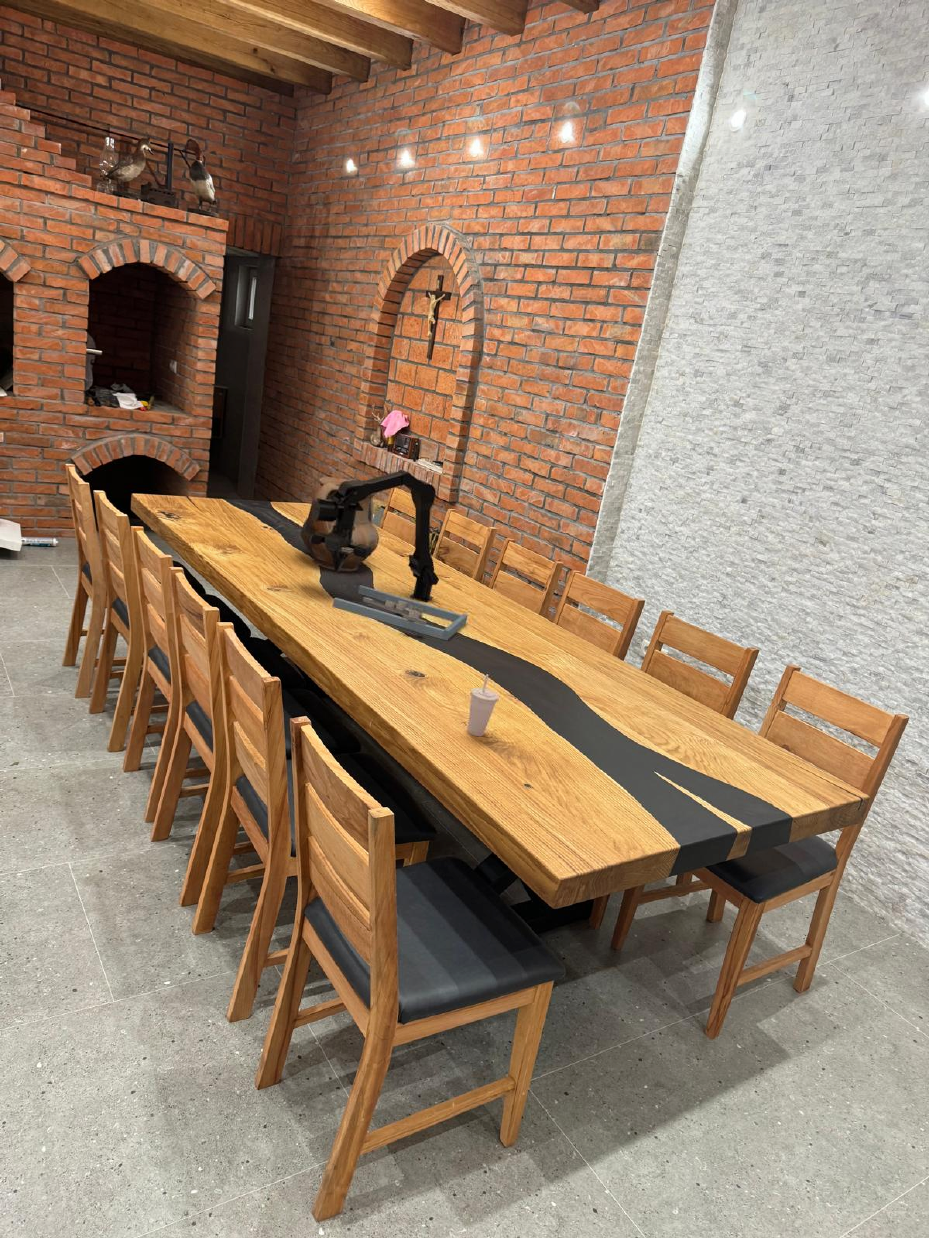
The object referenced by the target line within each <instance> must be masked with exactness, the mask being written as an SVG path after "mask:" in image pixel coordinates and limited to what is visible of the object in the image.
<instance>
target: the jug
mask: <svg viewBox="0 0 929 1238" xmlns="http://www.w3.org/2000/svg"><path fill="white" fill-rule="evenodd" d="M344 481H351V480H349V479H344V478H335V477H331V476H330V477H326V476H325V477H321V478H318V480H317V482H318V483H319V484H320V487H319V489H318V490H317V492H316V493H315V495H314V497H313V500H312V502H311V505H310V508H309V513H308V517H307V518H306V520H304V523H303V525H302V527H301V530H300V537H301V539H302V541H303V544H304V545H305V547H306V549H307V550H308V552H309V553H310V554H311V556H312V557H313V559H312V562H313V563H314V564H316V565H317V566H319V567H322V568H324V569H328V570H332V571H335V568H334V563H333V558H332V555H331V553H330V552H329V551H328V550H327V549H326V548H325V543H321V544H319V545H316V544H313V543H310V539H311V536H312V535H313V534H315V533H319V532H321V533H324V534H329V533H330V532H331V531H332V529H333V525H335V523H336V520H334V521H333V522H326V521H315V520H313V517H312V507H313V506H314V503H315V502H317V498H322V499H327V500H330V497H331V496H332V495H333V494H334V493H335V492H336V491H337V490H338V489H339V486H340V484H341V483H342V482H344ZM377 494H378V492H377V493H373V494H371V495H369V496H368V497H367V498H366V499H364V500H362V501H360V502H359V503H360V505H361V507H362V508H363V509H364V510H363V511H356V517H355V523H354V527H355V530H353V534H352V539H353V542H352V543H351V544H352V545H355V546H356V545H359V544H364V545H367V546H371V548H372V553H374V552H375V550H377V548H378V545H379V543H380V535H379V532H378V530H377V528H376V527H375V526H374V499H373V497H374V496H376V495H377ZM341 500H343V498H341ZM367 558H368V557H366V558H362V557H359V556H355V555H354V553H353V554H350V555H349V556H348V557H347V559H346V560H345V561H344V563H343V565H342V566H341V568H340V570H339V571H338V572H355V571H357V570H358V569H359V566H360V565H361V564H362V563H363V562H364V561H365V560H366V559H367Z"/></svg>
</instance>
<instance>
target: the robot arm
mask: <svg viewBox="0 0 929 1238" xmlns="http://www.w3.org/2000/svg"><path fill="white" fill-rule="evenodd" d="M401 486H404V487H406V488H408V490H410V496H411V500H412V503H413V506H414V508H415V520H414V521H415V528H414V529H415V533H414V538H415V540H414V541H415V543H414V545H415V547H414V552H413V554H409V555H408V560H409V561H408V567H409V568H410V571H411V572H412V576H413V577H415V584H414V590H413V593H412V594H410V595H409V598H411V599H416V600H419V601H422V602H426V603H428V602H430V601H431V600H432V599H434V596H431V593H432V590H433V589H432V588H433V586H436V585H438V583H439V582H440V579H439V577H438V576H437V574H436V573H435V567H434V560H433V557H432V555H431V551H430V546H431V545H430V539H431V537H430V536H431V535H430V534H431V509H432V507H433V505H434V503H435V499H436V494H437V493H436V492H437V491H436V488H435V486H434V485H432V484H431V483H429V482H427V481H424V480H422V479H419V478H416V477H415V476H414V475H412V474H411V473H410V472H409V471H407V470H404V469H399V470H397V471H395V472H391V473H387V474H383V475H381V476H377V477H373V478H369V479H366V480H355V479H354V480H350V481H344V482H342V483H341V484H340V486H339V489H338V490H337V491H336V492H335V493H334V494H333V495H332V496H331V497H330V500H327V499H322V498H317V502H315V503H314V506H313V507H312V517H313V520H315V521H326V522H333V521H334V520H336V523H335V525H333V529H332V531H331V532H330V533H329V534H324V533H321V532H319V533H315V534H313V535H312V536H311V539H310V543H313V544H316V545H319V544H321V543H325V548H326V549H327V550H328V551H329V552H330V553H331V555H332V558H333V563H334V568H335V570H334V571H335V572H340V571H339V570H340V568H341V566H342V565H343V563H344V561H345V560H346V559H347V557H348V556H349V555H350V554H353V553H354V555H355V556H359V557H362V558H366V557H367V558H369V557H370V556H372V554H373V552H372V548H371V546H367V545H364V544H359V545H356V546H355V545H352V544H351V543H352V542H353V539H352V534H353V530H355V527H354V523H355V517H356V511H363V510H364V509H363V508H362V507H361V505H360V503H359V502H360V501H362V500H364V499H366V498H367V497H368V496H369V495H371V494H373V493H377V494H378V493H380V492H384V491H387V490H390V489H391V490H392V489H394V488H398V487H401ZM341 498H343V500H341ZM367 558H366V559H367Z"/></svg>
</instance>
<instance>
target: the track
mask: <svg viewBox="0 0 929 1238" xmlns="http://www.w3.org/2000/svg"><path fill="white" fill-rule="evenodd" d="M357 594H358V595H362V596H364V597H365V596H366V597H367V598H371V599H375V600H379V601H382V602H385V603H386V600H388V601H391V602H394V603H395V606H397V604H398V601H399V600H400V601H403V602H406V603H408V604H407V607H406V609H407V608H408V605H411V606H414V607H417V608H420V609H422V610H423V612H422V614H425V615H430V616H433V617H436V618H440V619H444V620H446V619H447V620H446V621H449V620H450V622H452V623H451V624H449V625H447V627H446V628H444V629H442V628H439V627H436V626H432V625H429V624H426V625H422V624H419V623H417V622H414V621H410V620H407V619H405V618H404V617H403V616H399V615H395V614H392V613H390V612H385V611H382V610H379V609H375V608H372V607H370V606H369V607H368V606H367V605H366V606H365V605H363V604H359V603H356V602H351V601H348V600H345V599H343V598H342V599H341V598H339V597H335V598H333V602H332V607H334V608H337V609H339V610H340V609H341V610H343V611H347V612H349V613H350V612H351V613H353V614H357V615H361V616H364V617H367V618H370V619H374V620H377V621H380V622H382V623H383V622H384V623H386V624H390V625H393V626H396V627H400V628H403V629H407V630H409V631H413V632H416V633H420V634H423V635H427V636H430V637H434V638H436V639H440V640H443V641H446V642H447V641H448V640H449V639H450V638H452V637H453V635H455V634H456V633H457V632H459V631H460V630H461V629H462V628H463V627H464V626H465V625H466V624H467V621H468V616H469V615H468V614H466V613H462V614H459V613H456V612H453V611H450V610H447V609H443V608H439V607H436V606H433V605H429V604H426V603H423V602H419V601H416V600H412V599H409V598H406V597H403V596H402V597H401V596H398V595H396V594H392V593H388V592H386V591H382V590H378V589H375V588H371V587H367V586H365V585H362V584H361V585H359V586H358V591H357ZM462 626H463V627H462ZM461 627H462V628H461ZM460 628H461V629H460Z"/></svg>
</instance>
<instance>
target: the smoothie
mask: <svg viewBox="0 0 929 1238" xmlns="http://www.w3.org/2000/svg"><path fill="white" fill-rule="evenodd" d="M488 679H489V674H488V673H487V674H485V677H484V681H483V684H482V686H483V687H475V688H472V689H471V691H470V693H469V696H470V704H469V712H468V713H469V715H468V722H467V723H468V725H467V732H468V733H469V734H470V735H472V736H475V737H482V736H484V735H485V731H486V728H487V727H488V723H489V722H490V720H491V719H490V718H491V716H492V714H493V711H494V708H495V706H496V703H498V701H499V698H500V697H499V694H498V693H496V692H495V691H493V690H492V689H488V688H486V686H487V683H488Z"/></svg>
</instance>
